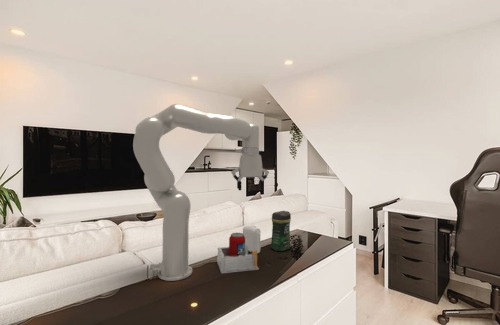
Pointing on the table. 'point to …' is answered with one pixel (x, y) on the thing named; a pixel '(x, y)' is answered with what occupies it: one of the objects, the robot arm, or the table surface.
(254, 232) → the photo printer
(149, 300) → the table surface
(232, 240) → the beverage can
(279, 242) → the coffee jar
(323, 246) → the table surface
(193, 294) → the table surface
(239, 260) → the grey open box
